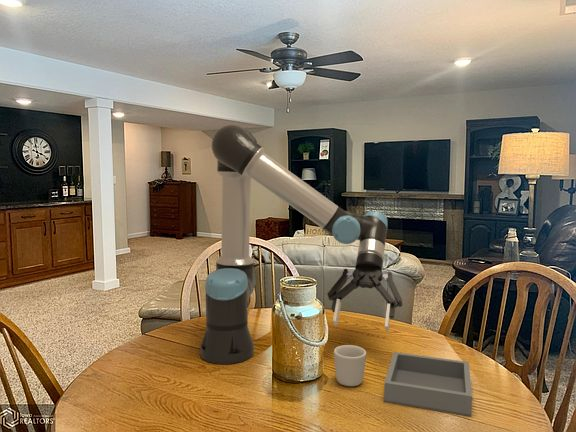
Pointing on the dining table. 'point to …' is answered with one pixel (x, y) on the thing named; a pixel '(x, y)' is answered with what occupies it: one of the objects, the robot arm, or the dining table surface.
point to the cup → (349, 364)
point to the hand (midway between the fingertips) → (360, 325)
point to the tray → (429, 383)
